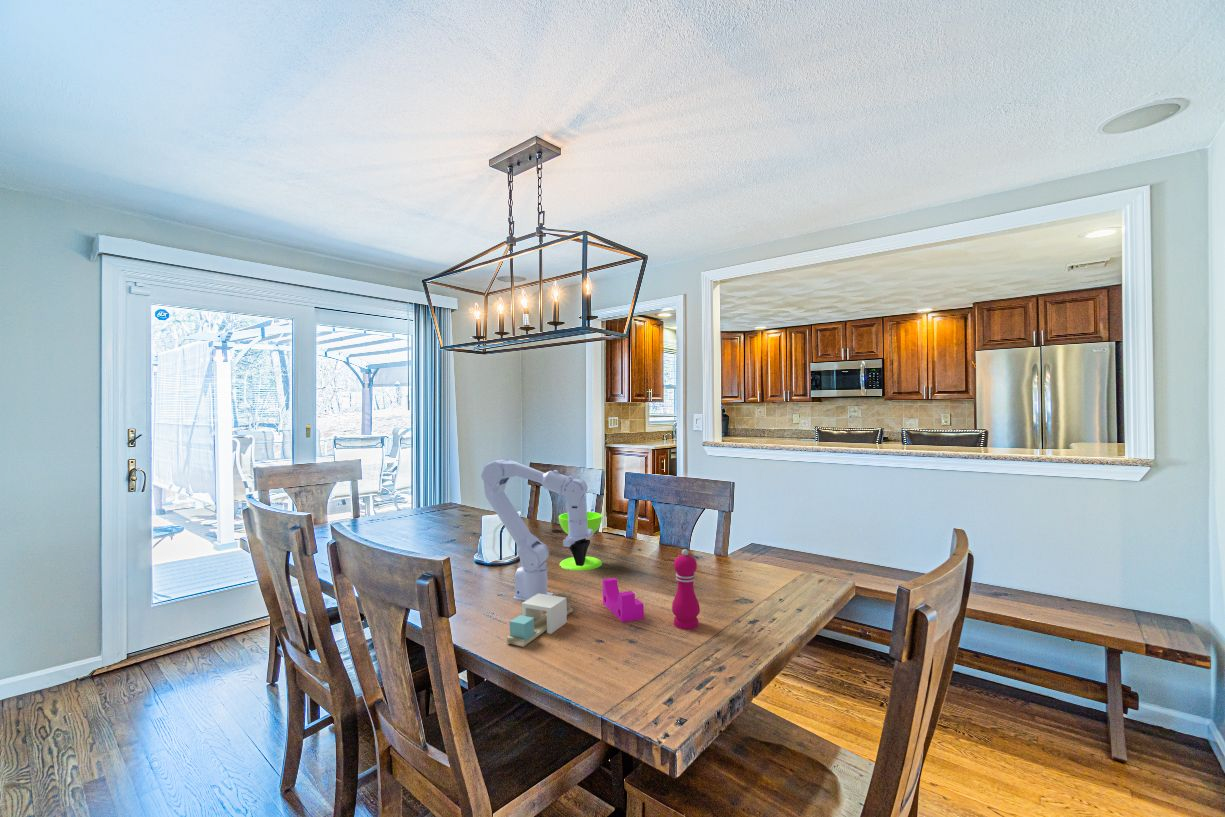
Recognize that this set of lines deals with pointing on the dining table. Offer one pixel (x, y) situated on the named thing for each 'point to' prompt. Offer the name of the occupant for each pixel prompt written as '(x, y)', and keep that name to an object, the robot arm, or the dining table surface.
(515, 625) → the teal block
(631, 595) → the toy block
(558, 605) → the cream tunnel
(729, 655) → the dining table surface
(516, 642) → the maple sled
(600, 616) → the dining table surface
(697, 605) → the pepper mill
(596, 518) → the wineglass
